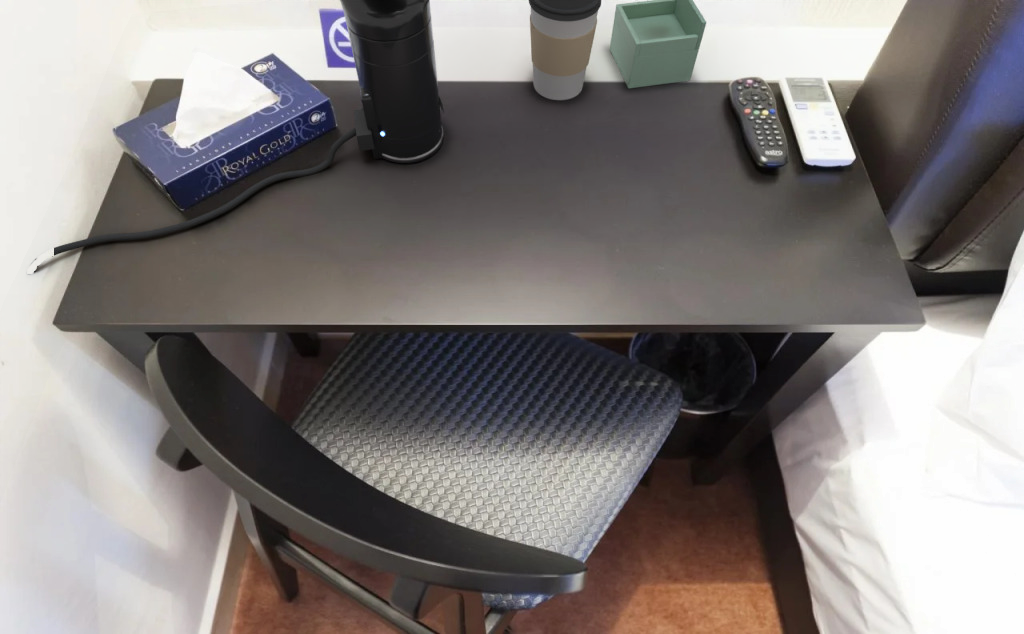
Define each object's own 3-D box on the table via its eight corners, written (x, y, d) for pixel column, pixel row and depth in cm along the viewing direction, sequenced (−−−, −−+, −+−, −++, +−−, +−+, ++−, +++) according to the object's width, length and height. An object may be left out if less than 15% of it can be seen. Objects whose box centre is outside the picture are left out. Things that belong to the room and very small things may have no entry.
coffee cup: (585, 109, 90) (598, 6, 78) (520, 100, 91) (522, -4, 79) (594, 68, 95) (608, -36, 82) (532, 60, 96) (536, -44, 83)
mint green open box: (628, 88, 93) (639, 30, 85) (609, 49, 98) (618, -10, 90) (690, 80, 94) (706, 22, 86) (668, 41, 99) (682, -17, 91)
